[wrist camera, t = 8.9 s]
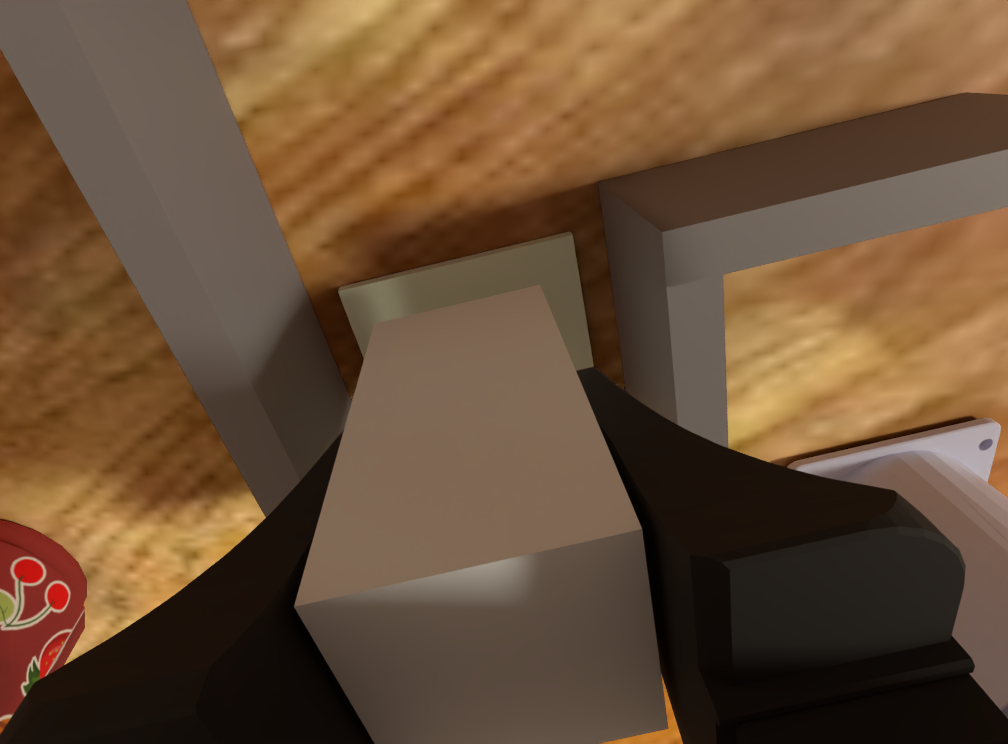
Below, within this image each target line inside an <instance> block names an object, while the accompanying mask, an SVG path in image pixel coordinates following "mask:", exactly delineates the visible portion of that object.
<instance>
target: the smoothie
mask: <svg viewBox="0 0 1008 744" xmlns="http://www.w3.org/2000/svg"><path fill="white" fill-rule="evenodd" d="M86 597H87V580H86V577H85V575H84V573H83V571H82V569H81V567H80V565H79V563H78V562H77V561H76V560H75V559H74V558H73V557H72V556H71V555H70V554H69V553H68V552H67V551H66V550H65V549H64V548H63V547H62V546H61V545H59V544H58V543H56V542H54V541H53V540H51V539H50V538H48V537H46V536H45V535H43V534H41V533H40V532H38V531H35V530H32V529H29V528H27V527H24V526H21V525H18V524H16V523H13V522H9V521H3V520H0V734H1V732H2V731H3V729H4V728H5V726H6V725H7V723H8V722H9V720H10V719H11V717H12V715H13V714H14V712H15V711H16V709H17V708H18V706H19V705H20V703H21V702H22V700H23V699H24V697H25V696H26V694H27V693H28V691H29V690H30V688H31V687H32V685H33V684H34V683H35V682H36V681H38V680H40V679H41V678H43V677H45V676H47V675H49V674H50V673H52V672H54V671H56V670H57V669H59V668H61V667H62V666H64V664H65V662H66V660H67V658H68V657H69V655H70V653H71V651H72V649H73V648H74V646H75V644H76V642H77V641H78V639H79V637H80V635H81V634H82V632H83V630H84V628H85V608H84V606H83V604H84V601H85V599H86Z"/></svg>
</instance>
